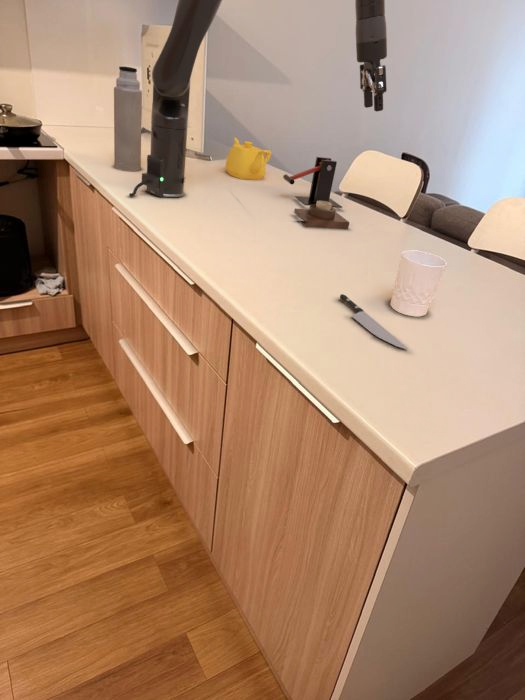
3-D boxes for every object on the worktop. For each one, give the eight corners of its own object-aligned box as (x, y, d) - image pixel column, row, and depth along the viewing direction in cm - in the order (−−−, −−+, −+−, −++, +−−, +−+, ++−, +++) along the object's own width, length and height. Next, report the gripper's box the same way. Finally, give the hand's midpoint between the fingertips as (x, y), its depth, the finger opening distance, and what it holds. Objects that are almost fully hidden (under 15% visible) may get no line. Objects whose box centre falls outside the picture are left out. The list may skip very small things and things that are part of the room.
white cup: (381, 297, 97) (396, 247, 92) (420, 301, 98) (436, 252, 93) (394, 316, 90) (410, 263, 85) (435, 320, 91) (454, 268, 86)
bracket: (304, 208, 147) (313, 160, 140) (294, 199, 154) (302, 154, 147) (341, 210, 150) (351, 164, 144) (330, 202, 158) (339, 157, 151)
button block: (306, 227, 130) (309, 212, 128) (293, 215, 138) (296, 200, 136) (347, 229, 134) (351, 214, 132) (333, 217, 142) (336, 203, 140)
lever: (290, 186, 144) (288, 178, 142) (284, 181, 149) (282, 173, 147) (334, 170, 145) (333, 162, 143) (326, 165, 150) (325, 157, 148)
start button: (318, 211, 132) (320, 204, 131) (313, 206, 135) (314, 200, 135) (332, 211, 133) (334, 205, 133) (326, 207, 137) (328, 201, 136)
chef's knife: (392, 354, 78) (408, 351, 79) (394, 348, 78) (409, 345, 79) (329, 299, 92) (342, 297, 94) (330, 294, 92) (343, 292, 93)
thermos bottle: (123, 163, 163) (123, 65, 149) (145, 168, 162) (147, 69, 148) (109, 167, 157) (108, 64, 143) (132, 172, 155) (132, 68, 141)
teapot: (283, 184, 170) (288, 150, 165) (241, 183, 163) (245, 147, 158) (253, 168, 186) (257, 137, 181) (215, 166, 179) (218, 134, 174)
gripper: (348, 41, 133) (352, 108, 141) (365, 41, 120) (368, 114, 129) (376, 36, 133) (378, 103, 141) (395, 35, 121) (396, 109, 129)
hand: (373, 108), depth 135 cm, fingers open, 8 cm apart
